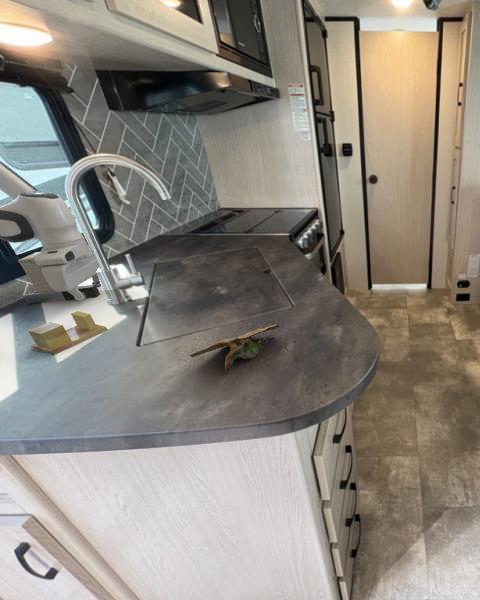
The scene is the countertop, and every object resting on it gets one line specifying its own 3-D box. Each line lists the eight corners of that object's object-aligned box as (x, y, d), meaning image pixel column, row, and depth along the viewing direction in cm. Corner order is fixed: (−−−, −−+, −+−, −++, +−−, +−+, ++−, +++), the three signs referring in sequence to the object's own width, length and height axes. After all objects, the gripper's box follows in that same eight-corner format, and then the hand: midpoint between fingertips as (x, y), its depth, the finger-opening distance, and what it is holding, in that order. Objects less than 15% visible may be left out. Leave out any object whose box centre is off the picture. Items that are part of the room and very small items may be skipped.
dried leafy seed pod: (243, 360, 78) (237, 330, 77) (293, 353, 74) (287, 321, 73) (174, 386, 60) (166, 347, 60) (235, 379, 56) (226, 337, 56)
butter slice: (78, 327, 79) (70, 313, 77) (85, 324, 80) (77, 310, 79) (90, 330, 78) (82, 316, 76) (97, 327, 79) (90, 313, 77)
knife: (100, 294, 99) (95, 284, 98) (96, 297, 97) (91, 287, 96) (30, 302, 95) (24, 292, 94) (25, 305, 93) (18, 295, 92)
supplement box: (61, 297, 98) (38, 257, 92) (41, 300, 96) (16, 260, 90) (74, 287, 105) (53, 249, 99) (56, 289, 103) (33, 251, 97)
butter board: (32, 348, 73) (20, 330, 71) (87, 325, 82) (78, 308, 80) (53, 355, 71) (41, 336, 68) (107, 329, 80) (98, 312, 78)
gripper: (76, 241, 99) (97, 281, 106) (29, 262, 82) (56, 308, 88) (100, 239, 101) (118, 278, 107) (58, 259, 83) (83, 305, 89)
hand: (90, 292), depth 97 cm, fingers open, 8 cm apart
